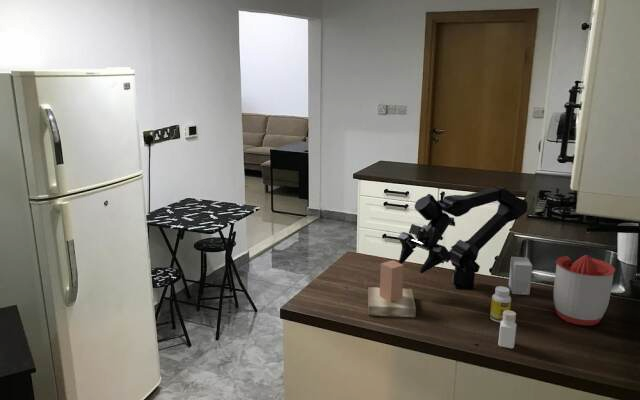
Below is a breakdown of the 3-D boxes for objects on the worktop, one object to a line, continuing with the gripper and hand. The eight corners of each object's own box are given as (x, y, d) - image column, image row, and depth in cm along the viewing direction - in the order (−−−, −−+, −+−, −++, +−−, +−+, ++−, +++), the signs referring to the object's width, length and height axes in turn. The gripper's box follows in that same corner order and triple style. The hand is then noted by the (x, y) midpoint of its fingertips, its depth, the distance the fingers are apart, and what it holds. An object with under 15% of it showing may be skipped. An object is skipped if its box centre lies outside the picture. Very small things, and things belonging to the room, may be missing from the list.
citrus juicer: (594, 305, 164) (603, 246, 159) (615, 332, 147) (625, 266, 142) (542, 301, 166) (549, 242, 161) (556, 327, 150) (565, 262, 145)
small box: (529, 295, 171) (533, 265, 168) (511, 294, 172) (514, 264, 169) (525, 286, 178) (528, 257, 176) (508, 284, 179) (511, 256, 177)
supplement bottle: (499, 324, 151) (502, 294, 149) (485, 317, 156) (488, 287, 153) (512, 321, 153) (516, 290, 151) (499, 313, 158) (502, 283, 156)
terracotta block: (391, 292, 165) (392, 260, 162) (402, 298, 161) (403, 265, 159) (379, 296, 162) (380, 263, 160) (390, 302, 158) (392, 268, 156)
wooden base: (410, 297, 169) (411, 288, 168) (415, 317, 155) (415, 308, 155) (368, 295, 170) (368, 287, 169) (368, 315, 156) (368, 306, 156)
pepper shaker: (499, 339, 143) (502, 308, 140) (514, 342, 141) (517, 310, 139) (497, 346, 139) (501, 314, 137) (513, 349, 138) (517, 317, 135)
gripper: (403, 208, 170) (377, 246, 167) (447, 221, 156) (419, 264, 152) (418, 227, 177) (394, 264, 173) (462, 241, 162) (436, 282, 159)
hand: (409, 268), depth 164 cm, fingers open, 9 cm apart
